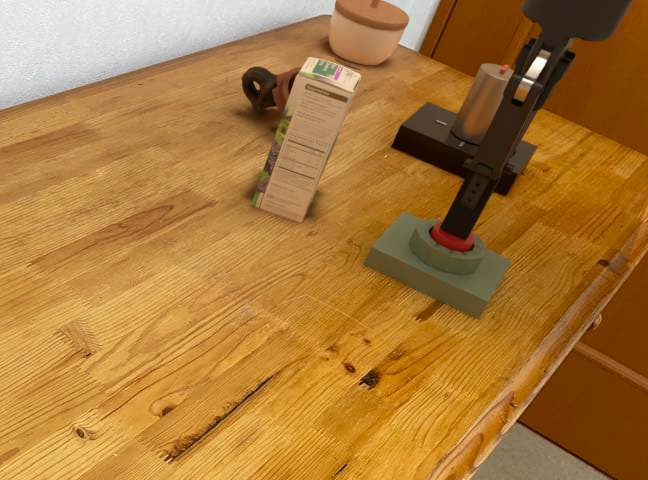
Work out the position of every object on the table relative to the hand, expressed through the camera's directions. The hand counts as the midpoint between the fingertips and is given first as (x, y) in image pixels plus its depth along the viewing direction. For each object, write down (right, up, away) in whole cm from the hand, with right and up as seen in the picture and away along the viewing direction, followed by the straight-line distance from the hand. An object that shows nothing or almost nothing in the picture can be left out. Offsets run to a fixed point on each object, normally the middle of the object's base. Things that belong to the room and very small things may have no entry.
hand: (454, 230), depth 83 cm
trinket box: (+3, +34, +44) cm, 56 cm away
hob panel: (+11, +14, +25) cm, 31 cm away
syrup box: (-15, +4, +8) cm, 18 cm away
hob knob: (+11, +17, +23) cm, 31 cm away
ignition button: (0, -1, +1) cm, 2 cm away
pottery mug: (-13, +18, +23) cm, 31 cm away
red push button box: (-1, -4, +3) cm, 5 cm away
